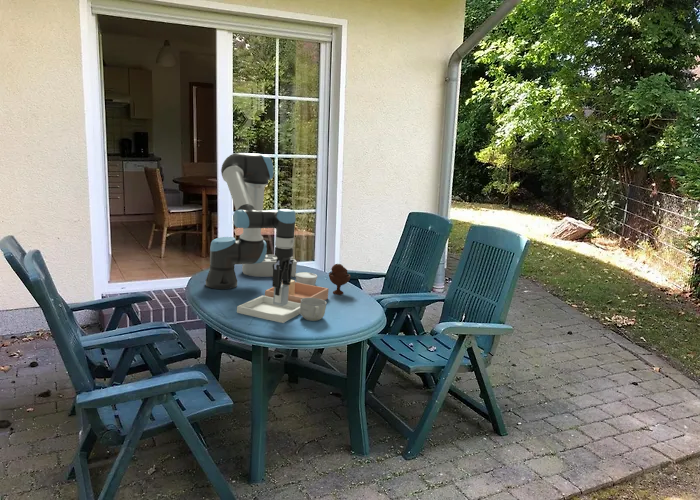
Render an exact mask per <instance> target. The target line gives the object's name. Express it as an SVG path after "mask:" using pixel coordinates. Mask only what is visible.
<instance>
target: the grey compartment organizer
mask: <svg viewBox="0 0 700 500" xmlns="http://www.w3.org/2000/svg"><path fill="white" fill-rule="evenodd" d="M290 259H292V260H293V264H292V273H291V278H296V276H295V274H296V273H297V265H298V262H297V260H296V259H294V257H293V256H292V257H290ZM276 261H277V256H275V254H266V256H265V259H264V260H263V261H262V262H261V263H255V264H241V265H242V267H241V269H242V273H243V275H246V276H250V277H257V278H258V277H259V278H261V277H262V278H263V277H264V278H265V277H266V278H267V277H272V278H273V264H276ZM281 270H282V269H281Z"/></svg>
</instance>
